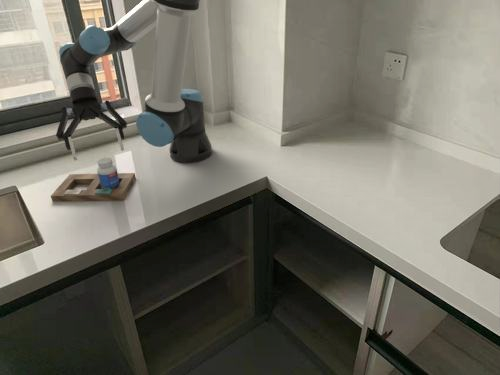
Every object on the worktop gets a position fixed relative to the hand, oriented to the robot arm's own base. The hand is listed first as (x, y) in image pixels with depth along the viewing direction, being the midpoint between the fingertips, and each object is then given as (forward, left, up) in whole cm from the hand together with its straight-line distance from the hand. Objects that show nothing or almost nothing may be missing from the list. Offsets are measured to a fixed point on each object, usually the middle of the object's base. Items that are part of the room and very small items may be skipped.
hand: (99, 153), depth 111 cm
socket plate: (+2, +4, -10) cm, 11 cm away
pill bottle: (-3, +3, -11) cm, 11 cm away
